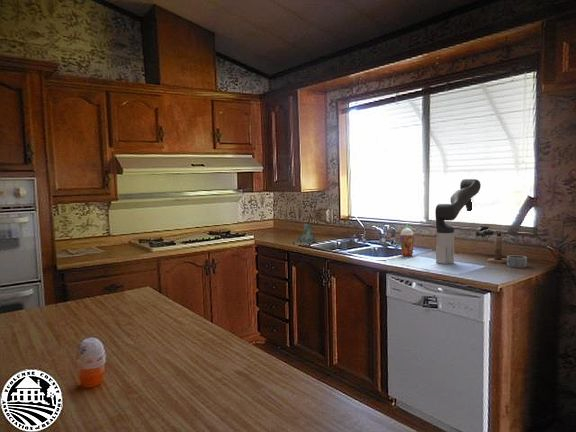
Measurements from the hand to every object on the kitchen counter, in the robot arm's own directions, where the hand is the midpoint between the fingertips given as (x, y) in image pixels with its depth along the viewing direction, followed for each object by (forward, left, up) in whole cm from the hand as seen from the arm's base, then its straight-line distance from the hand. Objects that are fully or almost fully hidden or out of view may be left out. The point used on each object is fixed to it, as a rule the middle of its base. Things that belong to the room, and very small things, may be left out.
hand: (491, 235), depth 255 cm
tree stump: (-31, +135, -14) cm, 139 cm away
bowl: (-14, -21, -13) cm, 29 cm away
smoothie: (-25, +41, -14) cm, 50 cm away
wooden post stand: (-8, -8, -14) cm, 18 cm away
